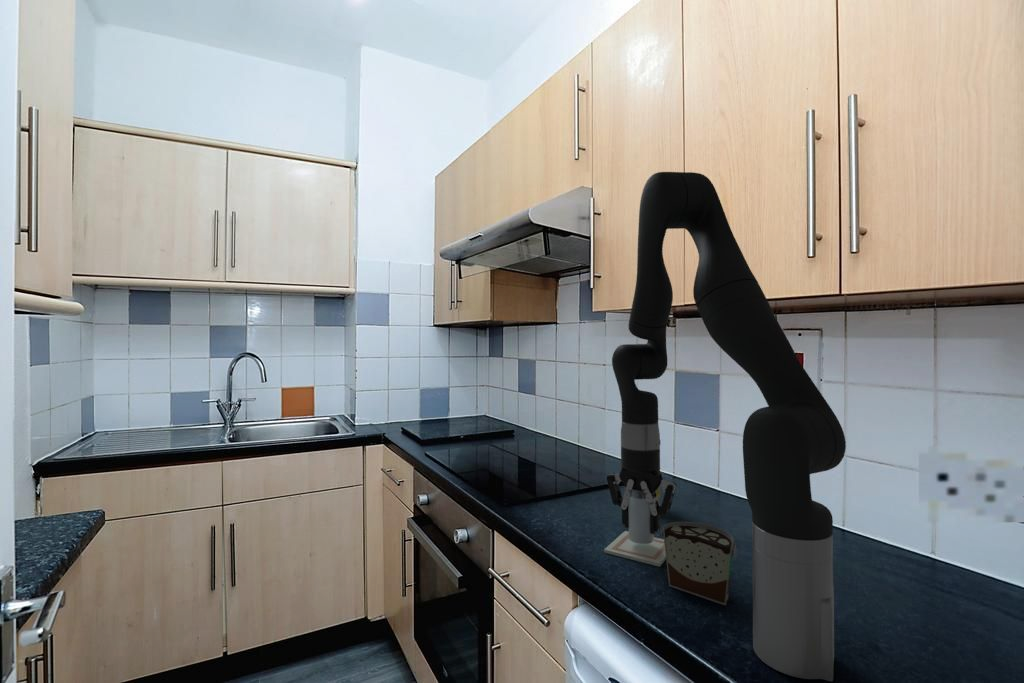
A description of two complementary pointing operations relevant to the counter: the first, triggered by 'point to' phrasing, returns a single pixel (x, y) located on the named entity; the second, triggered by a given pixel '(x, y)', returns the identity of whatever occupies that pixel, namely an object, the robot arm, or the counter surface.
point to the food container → (699, 559)
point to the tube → (639, 518)
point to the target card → (638, 550)
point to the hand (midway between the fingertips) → (641, 529)
